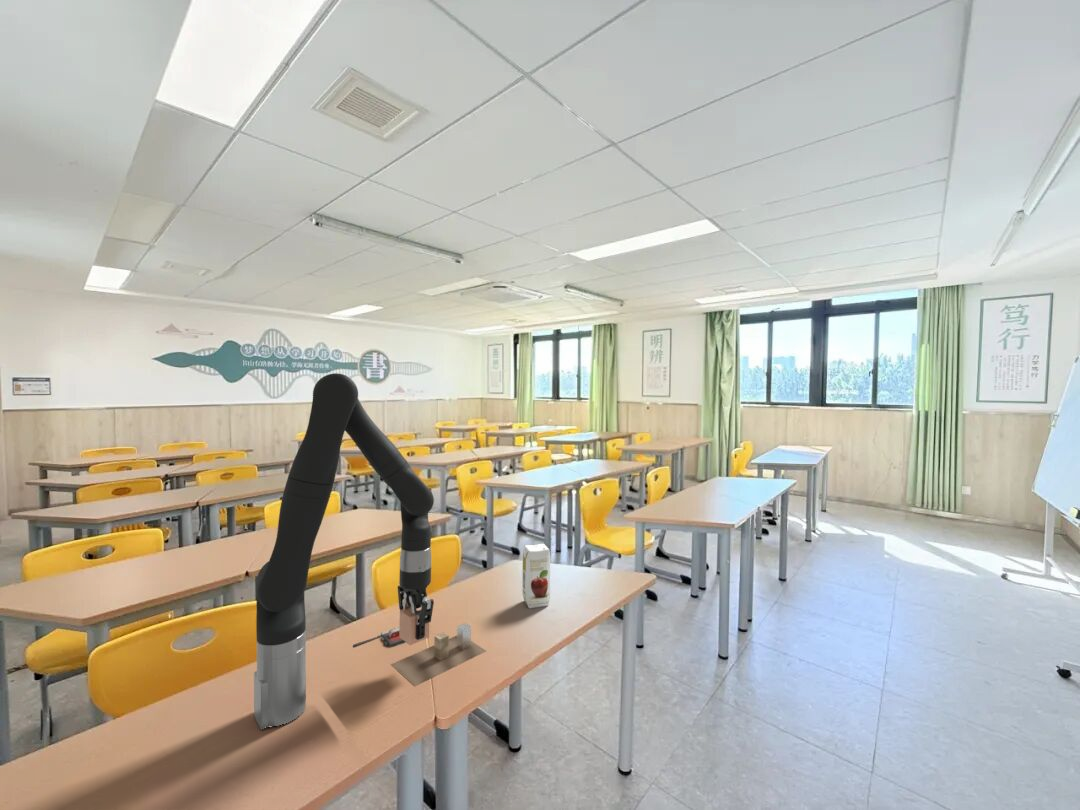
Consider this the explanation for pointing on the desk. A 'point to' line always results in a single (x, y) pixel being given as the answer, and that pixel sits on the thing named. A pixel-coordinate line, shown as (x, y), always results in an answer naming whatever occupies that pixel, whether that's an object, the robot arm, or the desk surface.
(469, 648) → the board
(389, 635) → the walkie-talkie
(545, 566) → the juice carton
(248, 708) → the desk surface
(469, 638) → the post
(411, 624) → the peach cube
